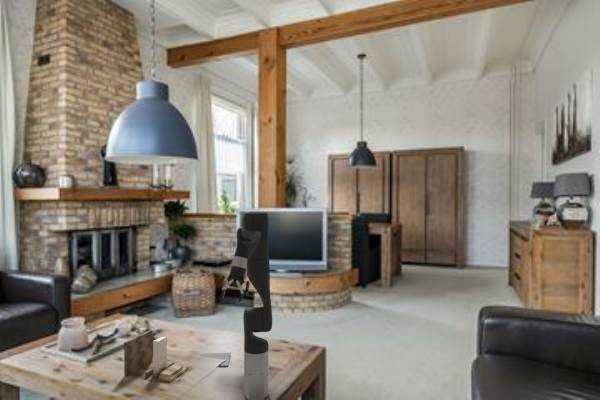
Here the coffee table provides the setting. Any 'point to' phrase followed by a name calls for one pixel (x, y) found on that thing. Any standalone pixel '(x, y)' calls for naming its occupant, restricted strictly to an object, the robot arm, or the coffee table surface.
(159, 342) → the block
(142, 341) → the rack
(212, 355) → the mat
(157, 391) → the coffee table surface
